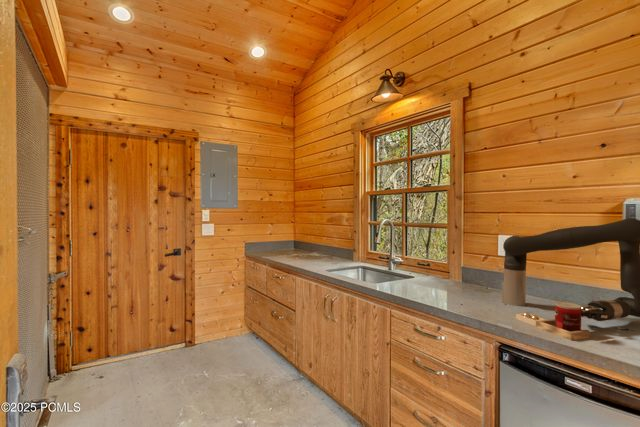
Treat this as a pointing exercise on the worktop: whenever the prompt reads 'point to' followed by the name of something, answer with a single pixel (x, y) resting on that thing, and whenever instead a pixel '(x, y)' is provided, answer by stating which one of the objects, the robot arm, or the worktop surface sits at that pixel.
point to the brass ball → (535, 317)
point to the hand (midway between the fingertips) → (572, 313)
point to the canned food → (568, 316)
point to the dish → (527, 319)
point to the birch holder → (561, 330)
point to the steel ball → (527, 315)
